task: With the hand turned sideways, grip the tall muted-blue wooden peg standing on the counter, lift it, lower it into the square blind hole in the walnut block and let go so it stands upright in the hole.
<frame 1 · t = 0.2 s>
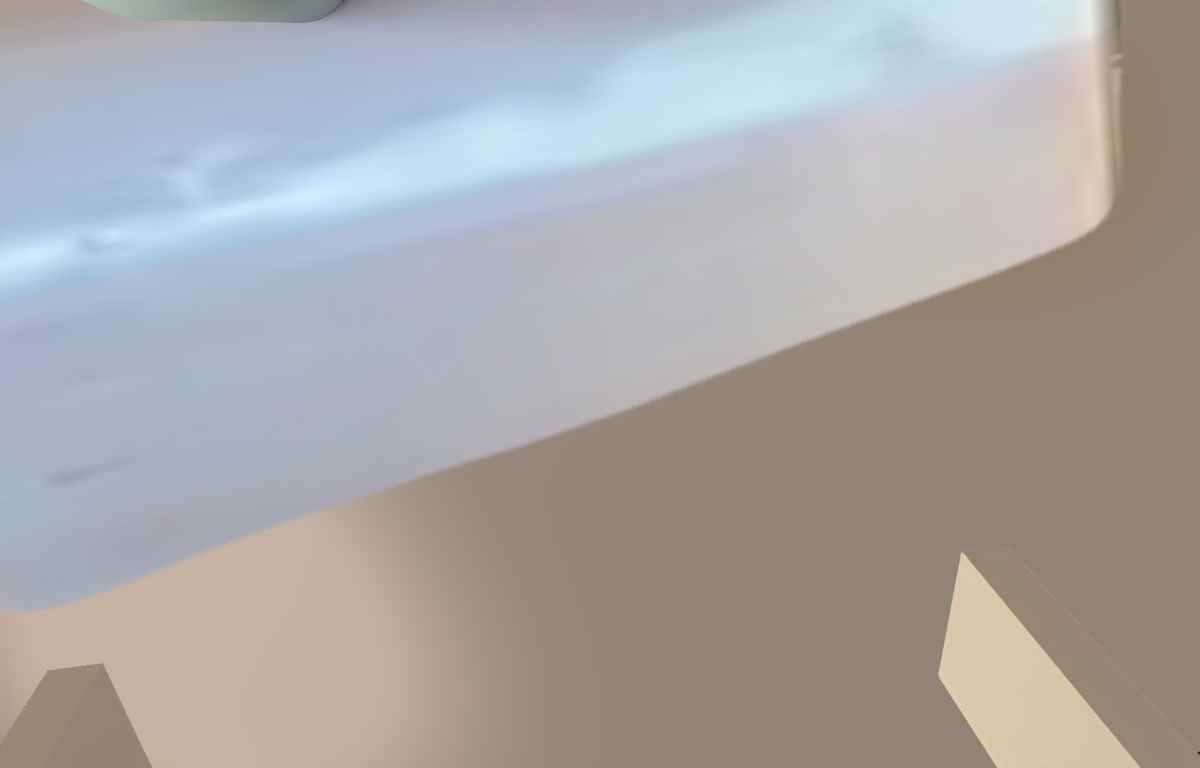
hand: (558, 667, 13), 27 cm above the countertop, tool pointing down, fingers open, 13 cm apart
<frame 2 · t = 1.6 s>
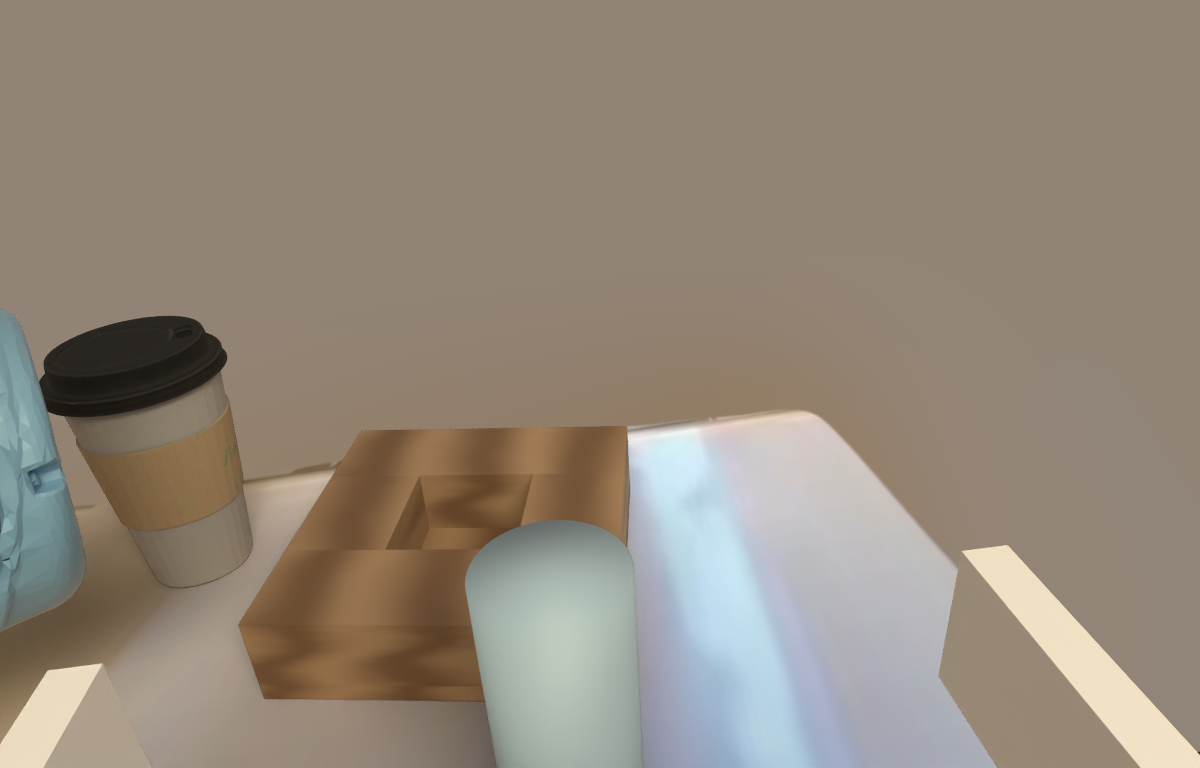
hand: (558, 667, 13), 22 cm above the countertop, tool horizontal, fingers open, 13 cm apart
coffee cup: (204, 559, 51), on the countertop
socket block: (474, 577, 48), on the countertop
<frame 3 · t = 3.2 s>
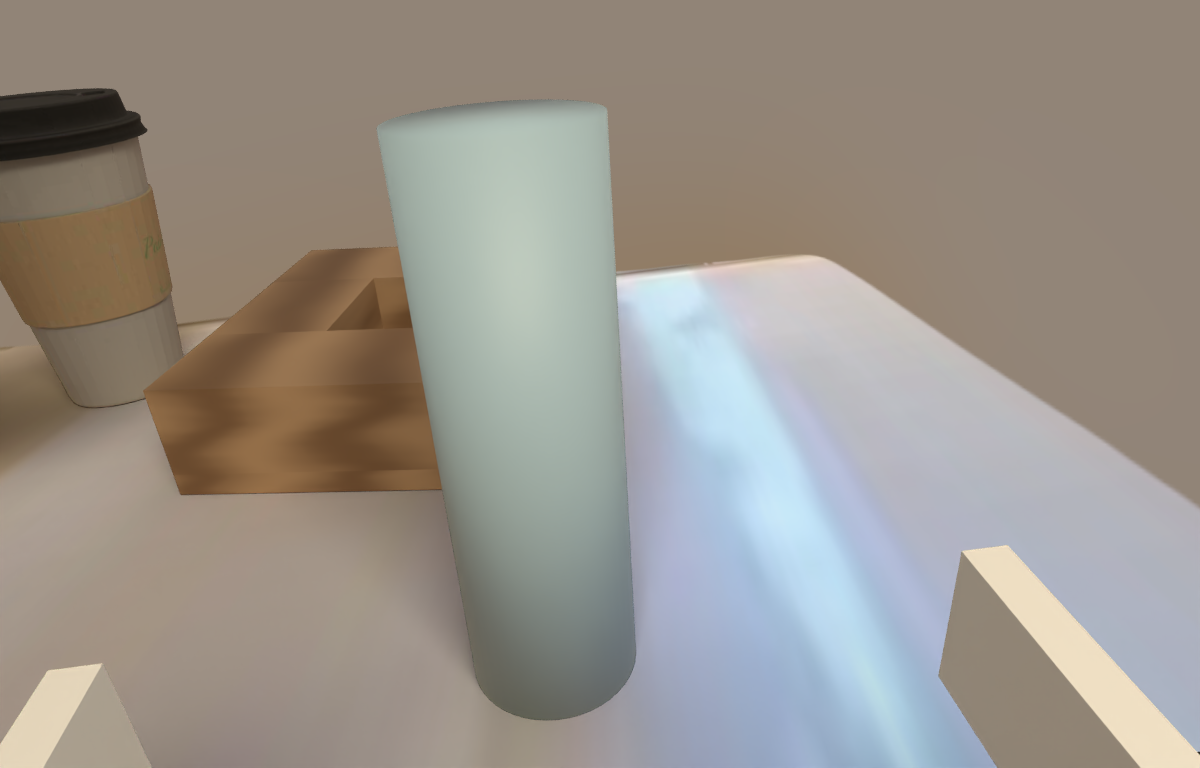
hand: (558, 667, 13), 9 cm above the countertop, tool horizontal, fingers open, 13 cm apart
coffee cup: (129, 386, 44), on the countertop
peg: (555, 653, 25), on the countertop
socket block: (437, 390, 41), on the countertop
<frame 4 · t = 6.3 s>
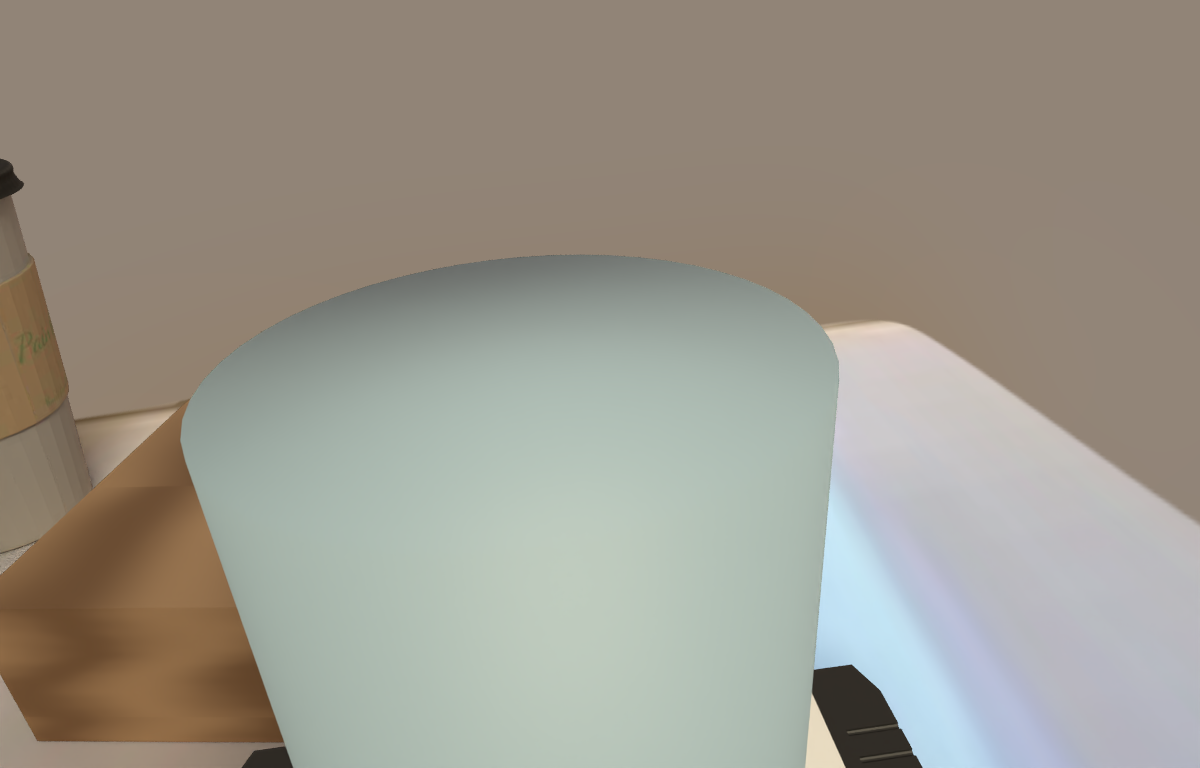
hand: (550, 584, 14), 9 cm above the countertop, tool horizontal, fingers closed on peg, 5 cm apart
coffee cup: (14, 519, 33), on the countertop
socket block: (421, 539, 30), on the countertop
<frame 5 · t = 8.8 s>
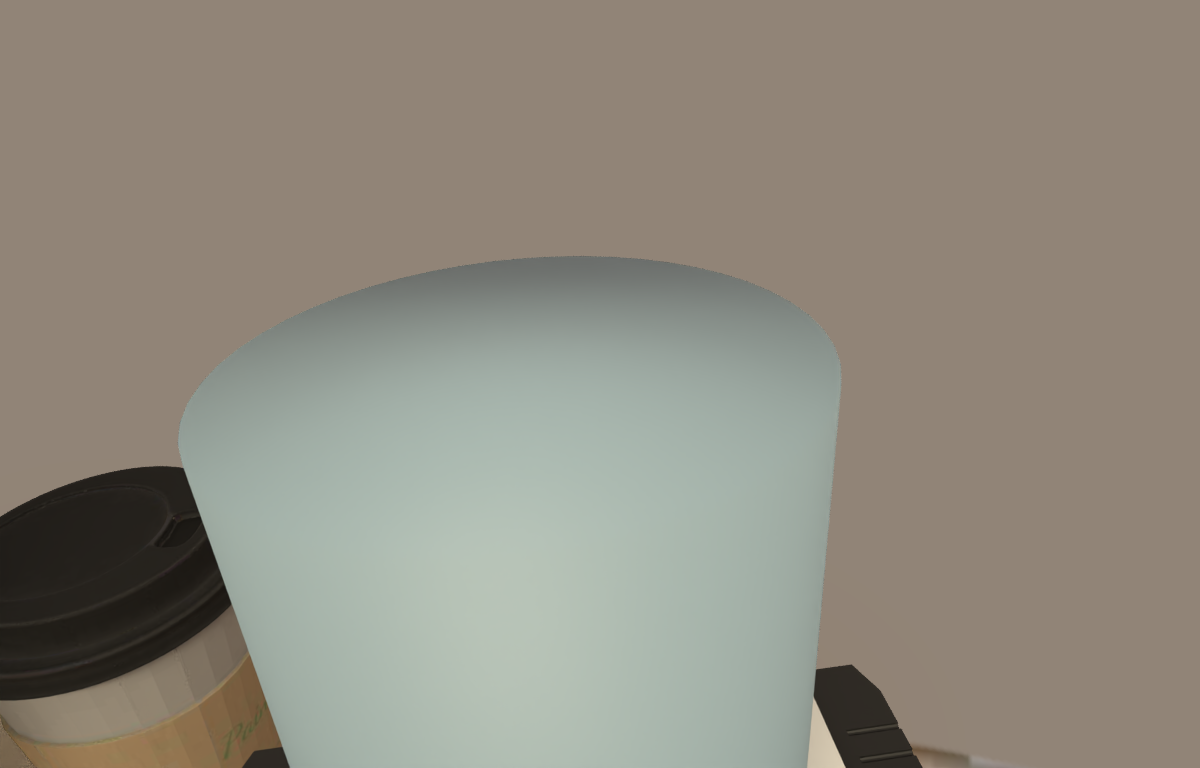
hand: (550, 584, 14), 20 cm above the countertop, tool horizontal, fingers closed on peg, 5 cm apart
when the fingers open (11 cm above the countertop, at t = 11.4 s): peg drops 1 cm, resting on socket block.
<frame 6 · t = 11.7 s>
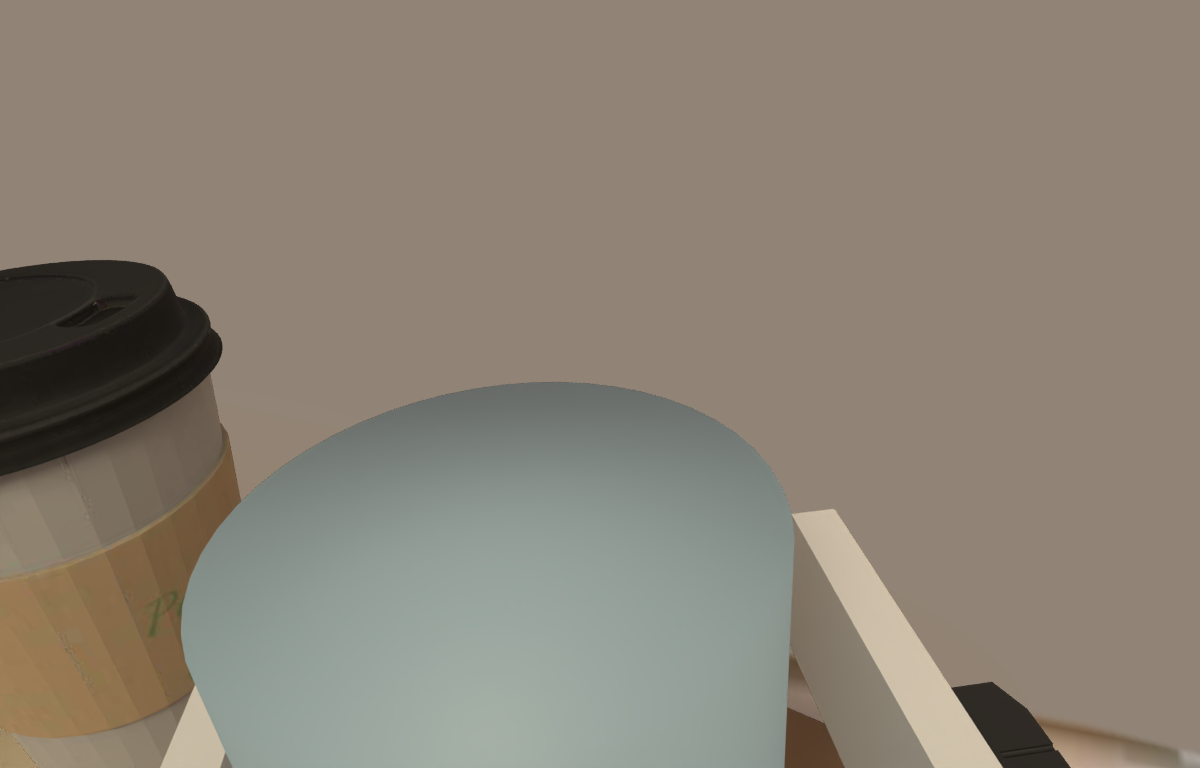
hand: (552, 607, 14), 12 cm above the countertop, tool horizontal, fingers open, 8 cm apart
coffee cup: (178, 752, 26), on the countertop
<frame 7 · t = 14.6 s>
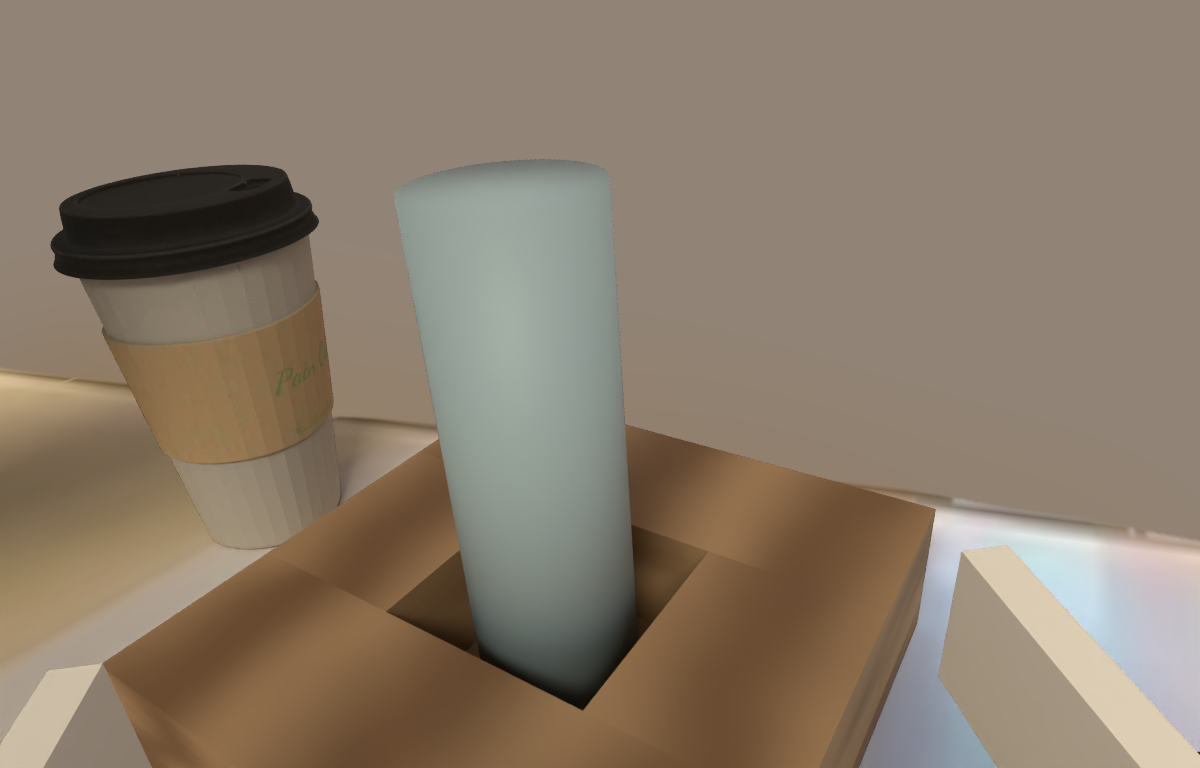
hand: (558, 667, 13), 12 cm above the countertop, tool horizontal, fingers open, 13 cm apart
coffee cup: (275, 513, 37), on the countertop
peg: (563, 676, 26), point 1 cm above the countertop, touching socket block
socket block: (565, 697, 26), on the countertop
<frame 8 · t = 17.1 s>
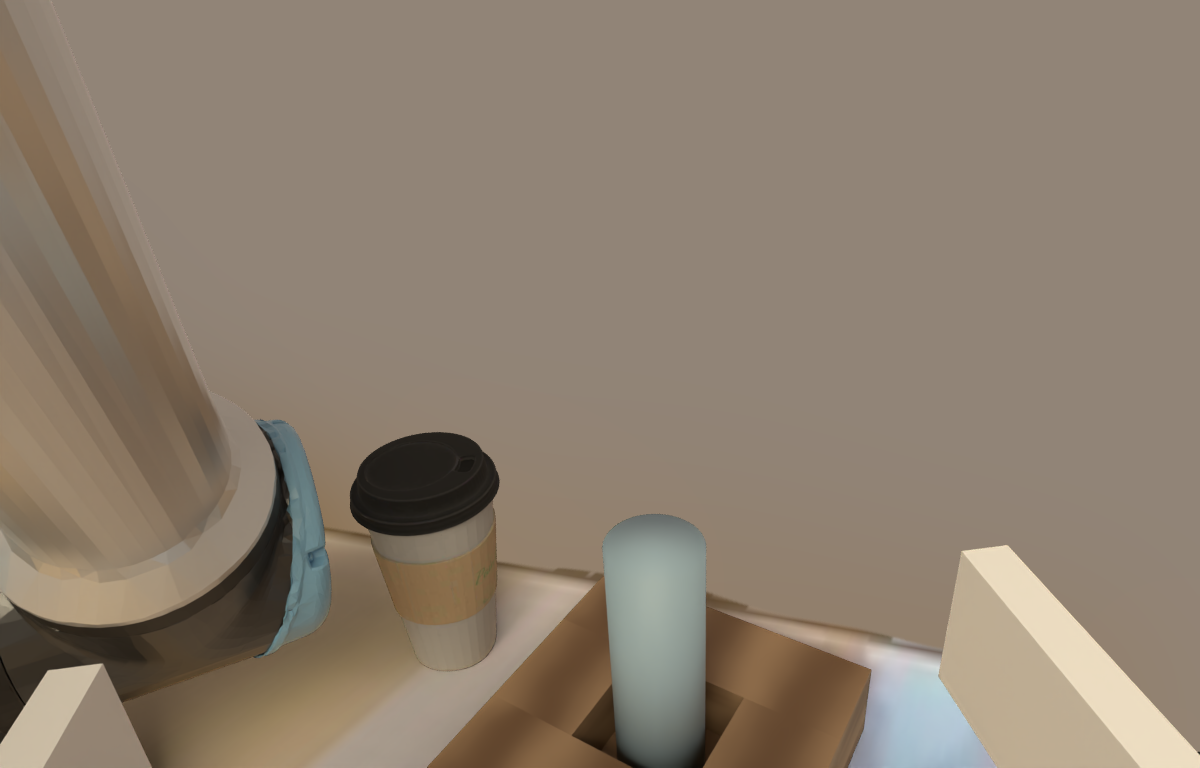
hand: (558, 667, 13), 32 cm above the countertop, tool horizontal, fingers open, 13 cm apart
coffee cup: (455, 642, 57), on the countertop
peg: (661, 765, 46), point 1 cm above the countertop, touching socket block
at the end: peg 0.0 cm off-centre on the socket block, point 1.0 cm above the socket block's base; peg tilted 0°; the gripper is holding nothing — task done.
